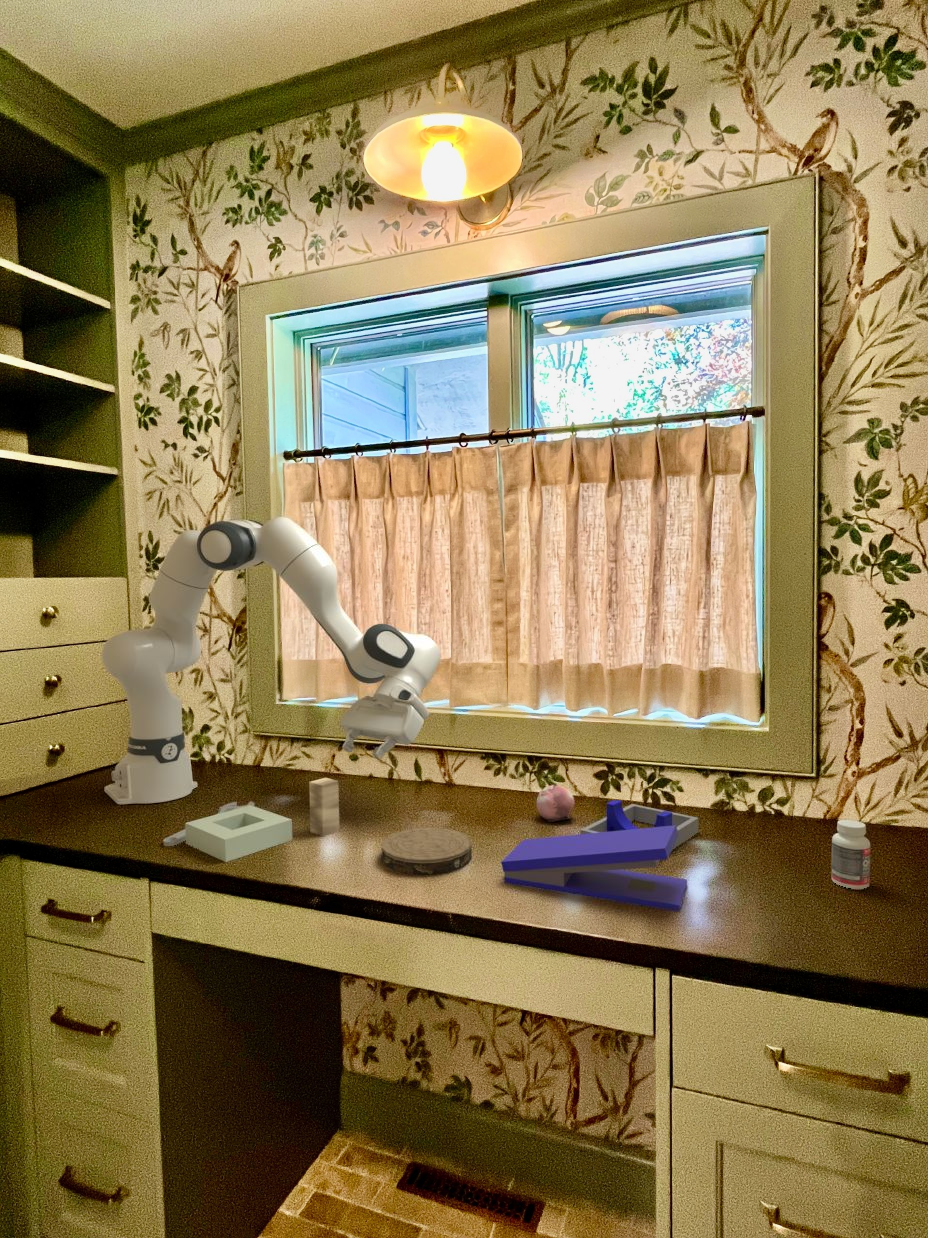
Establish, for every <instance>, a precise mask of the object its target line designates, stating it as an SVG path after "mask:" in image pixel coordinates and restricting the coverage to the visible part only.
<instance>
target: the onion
mask: <svg viewBox="0 0 928 1238" xmlns="http://www.w3.org/2000/svg"><path fill="white" fill-rule="evenodd" d="M537 795H538V796H537V798H536V809H537V811H538V813H539V814H540V816H541V817H542V818H543V819H544V820H546V821H548V823H551V822H556V821H557V822H558V821H565V820H568V819H572V817H571V816H569V814H570V813H571V812H572V810H573V809H574V807H575V798H574V795H573V794H572V793H571V791H569V790H568V789H566V788H565V787H563V786H559V785H554V784H551V785H549V786H545V787H543V788H542V790H540V791H539V792H538V794H537Z"/></svg>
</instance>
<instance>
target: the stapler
mask: <svg viewBox="0 0 928 1238" xmlns="http://www.w3.org/2000/svg"><path fill="white" fill-rule="evenodd" d="M677 837H678V831H677V827H676V825H673V826H663V827H654V826H653V827H647V828H646V827H645V828H640V829H631V830H621V831H610V832H600V833H590V834H570V835H559V836H549V837H540V838H530V839H529V838H528V839H523V840H522V841H520V843H519V844H518V845H517V846H516V847H514V849H513V850H511V851H510V853H509V854H507V856H505V857H504V859H502V860H501V861H500V863H501V867H502V868H501V869H502V872H504V873H503V874H504V875H503V876H504V877H503V878H504V882H503V883H504V884H509V885H515V886H522V887H527V888H534V889H540V890H545V891H551V892H559V893H564V894H571V895H576V896H581V897H588V898H593V899H595V898H596V899H601V900H608V901H613V902H620V903H624V904H632V905H638V906H645V907H650V908H655V909H662V910H668V911H673V912H674V911H675V912H680V911H681V908H682V904H683V901H684V898H683V897H685V893H686V891H687V890H686V889H687V887H686V886H688V879H686V878H685V879H684V878H679V877H671V876H665V875H657V874H651V873H644V872H638V871H632V870H635V869H637V870H638V869H651V868H653V869H654V868H657V867H658V865H659V863H660V861H661V860H668V859H669V856H670V855H671V852H672V851H673V850H672V848H673V846H674V844H675V842H676V839H677ZM671 850H672V851H671ZM630 870H631V871H630ZM685 890H686V891H685Z"/></svg>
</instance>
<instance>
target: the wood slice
mask: <svg viewBox="0 0 928 1238" xmlns="http://www.w3.org/2000/svg"><path fill="white" fill-rule="evenodd" d="M472 850H473V848H472V841H471V837H469V836H468V835H467V834H465V833H464V832H461V831H458V830H454V829H449V828H443V827H418V828H411V829H406V830H402V831H399V832H398V831H397V832H395V833H393V834H391V835H389V836H387V837H386V838H385V839H383V841H382V846H381V856H382V857H381V862H382V863H383V865H384V866H385V867H386V868H387V869H389V870H391V871H393V872H395V873H399V874H401V875H408V876H418V877H424V876H426V877H427V876H440V875H446V874H450V873H453V872H457V871H460V870H461V869H463V868H465V867H466V866H469V864H470V863H471V861H472V859H473V858H472V857H473V856H472V854H473V851H472Z"/></svg>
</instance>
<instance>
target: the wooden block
mask: <svg viewBox="0 0 928 1238" xmlns="http://www.w3.org/2000/svg"><path fill="white" fill-rule="evenodd" d="M308 787H309V826H310V828H309V829H310V830H309V831H310V833H311V834H315V835H318V836H321V837H326V836H329V835H332V834H335V833H338V832H340V803H339V802H340V799H339V797H340V794H339V793H340V791H339V790H340V789H339V780H336V779H332V778H328V777H323V778H322V777H321V778H319V779H316V780H312V781H309V783H308Z"/></svg>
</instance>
